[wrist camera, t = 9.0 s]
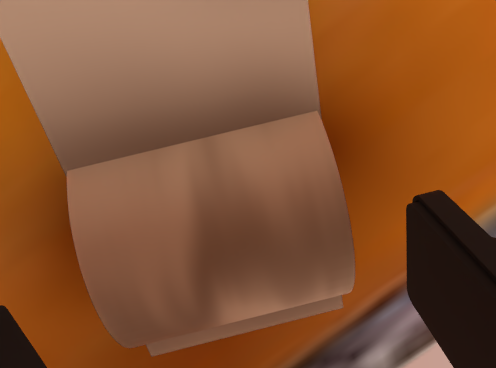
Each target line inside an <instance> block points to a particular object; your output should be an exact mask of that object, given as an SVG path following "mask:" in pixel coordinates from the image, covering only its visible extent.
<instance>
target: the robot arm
mask: <svg viewBox="0 0 496 368" xmlns="http://www.w3.org/2000/svg"><path fill="white" fill-rule="evenodd" d="M406 230H407V291H408V295H409V298H410V300H411V302H412V304H413V306H414V307H415V309H416V310H417V312H418V313H419V315H420V316H421V318H422V319H423V321H424V323H425V324H426V326H427V327H428V329H429V330H430V332H431V333H432V335H433V336H434V338H435V340H436V341H437V343H438V344H439V346H440V347H441V349H442V350H443V352H444V353H445V355H446V356H447V358H448V360H449V361H450V363H451V364H452V366H453V367H454V368H496V238H494V237H491V236H490V235H488V234H487V233H486V232H485V231H484V230H483V229H482V228H481V227H480V226H479V225H478V224H477V223H476V222H475V221H474V220H473V219H472V218H470V217H469V216H468V215H467V214H466V213H465V212H464V211H463V210H462V209H461V208H460V207H459V206H458V205H457V204H456V203H455V202H454V201H452V200H451V199H450V198H449V197H448V196H447V195H446V194H445V193H444V192H443V191H441V190H437V191H433V192H429V193H425V194H421V195H417V196H415V197H414V198H413V203H411V204H408V205H407V208H406ZM0 368H47V367H46V366H45V364H44V363H43V361H42V360H41V358H40V357H39V355H38V354H37V352H36V351H35V349H34V348H33V346H32V345H31V343H30V342H29V340H28V339H27V337H26V336H25V334H24V333H23V332H22V330H21V329H20V327H19V326H18V324H17V323H16V321H15V320H14V318H13V317H12V315H11V314H10V312H9V311H8V309H7V308H6V307H5V306H3V305H1V306H0Z"/></svg>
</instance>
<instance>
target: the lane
mask: <svg viewBox="0 0 496 368" xmlns="http://www.w3.org/2000/svg"><path fill="white" fill-rule="evenodd" d="M0 38H1V40H2V42H3V44H4V46H5V48H6V50H7V53H8V55H9V57H10V59H11V61H12V63H13V65H14V67H15V69H16V72H17V74H18V76H19V78H20V80H21V82H22V84H23V86H24V88H25V91H26V93H27V95H28V97H29V99H30V101H31V103H32V105H33V107H34V110H35V112H36V114H37V116H38V118H39V120H40V122H41V124H42V127H43V129H44V131H45V133H46V135H47V137H48V139H49V141H50V143H51V146H52V148H53V150H54V152H55V154H56V156H57V158H58V160H59V162H60V165H61V167H62V169H63V171H64V173H65V175H66V177H67V200H68V210H69V219H70V225H71V231H72V237H73V241H74V246H75V250H76V255H77V258H78V262H79V266H80V269H81V273H82V276H83V279H84V282H85V285H86V288H87V290H88V293H89V295H90V298H91V300H92V303H93V305H94V307H95V309H96V311H97V314H98V316H99V318H100V319H101V321H102V323H103V324H104V326H105V328H106V329H107V331H108V332H109V333H110V335H111V336H112V337H113V338H114V339H115V340H116V341H117V342H118V343H119V344H120V345H122V346H123V347H126V348H134V347H138V346H142V345H146V346H147V348H148V350H149V353H150V355H151V357H152V356H156V355H160V354H164V353H168V352H172V351H176V350H180V349H184V348H188V347H191V346H195V345H199V344H203V343H207V342H211V341H215V340H219V339H223V338H227V337H231V336H235V335H239V334H243V333H246V332H250V331H254V330H258V329H262V328H266V327H270V326H274V325H278V324H282V323H286V322H290V321H294V320H298V319H301V318H305V317H309V316H313V315H317V314H321V313H325V312H329V311H333V310H337V309H341V308H343V301H342V295H343V294H347V293H350V292H351V291H352V289H353V286H354V281H355V256H354V246H353V238H352V231H351V225H350V219H349V214H348V209H347V204H346V200H345V195H344V191H343V187H342V183H341V179H340V175H339V171H338V168H337V164H336V161H335V158H334V154H333V151H332V148H331V145H330V142H329V139H328V136H327V134H326V131H325V128H324V125H323V123H322V119H321V110H320V102H319V93H318V84H317V75H316V67H315V58H314V49H313V41H312V32H311V23H310V15H309V6H308V0H0Z"/></svg>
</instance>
